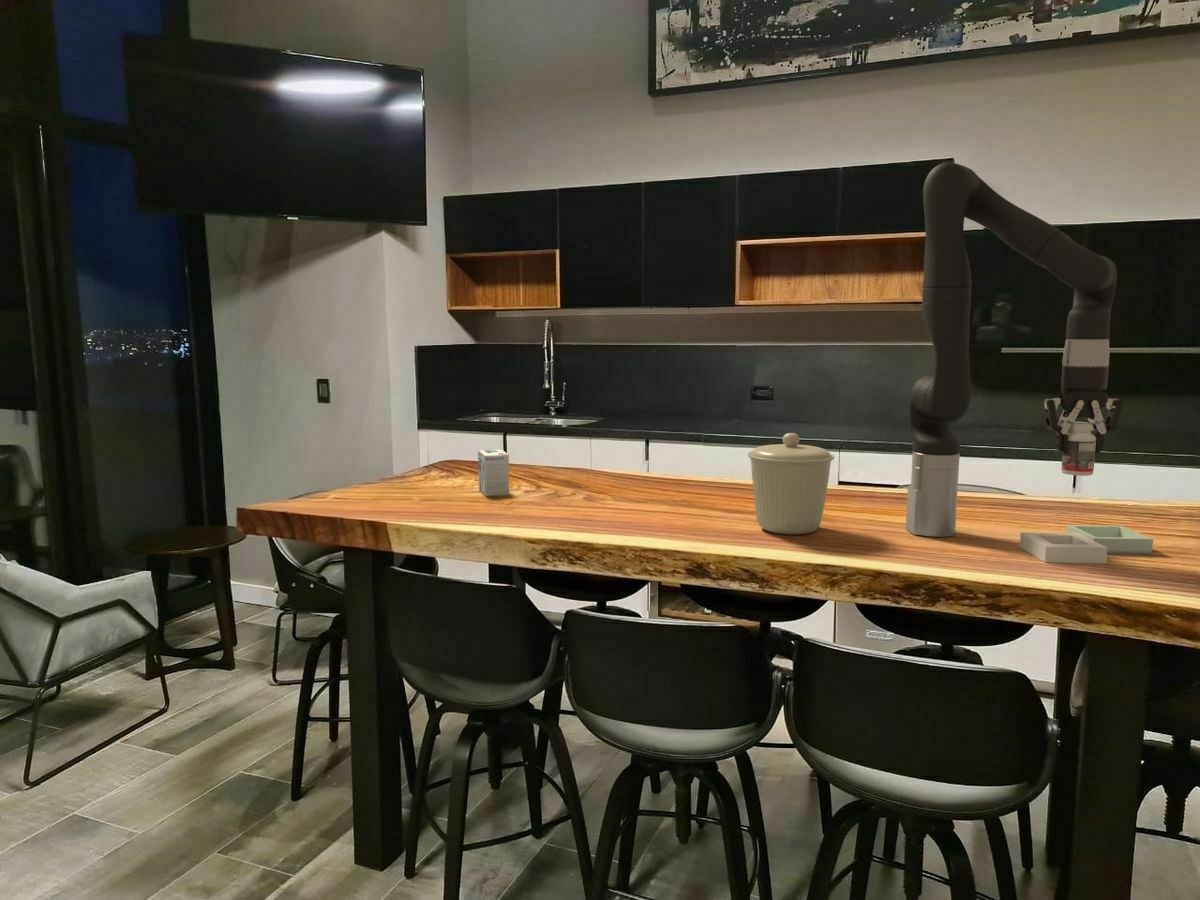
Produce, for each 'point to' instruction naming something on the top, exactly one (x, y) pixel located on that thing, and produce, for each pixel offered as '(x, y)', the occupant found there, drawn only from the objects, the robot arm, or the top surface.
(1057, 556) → the socket block
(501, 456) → the light bulb box
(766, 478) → the canister
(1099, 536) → the parts tray
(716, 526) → the top surface
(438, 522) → the top surface
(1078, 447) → the pill bottle
